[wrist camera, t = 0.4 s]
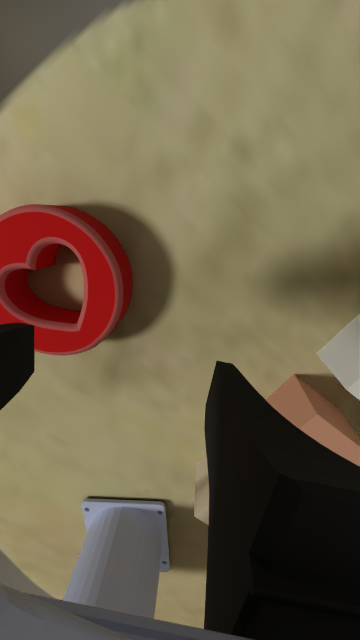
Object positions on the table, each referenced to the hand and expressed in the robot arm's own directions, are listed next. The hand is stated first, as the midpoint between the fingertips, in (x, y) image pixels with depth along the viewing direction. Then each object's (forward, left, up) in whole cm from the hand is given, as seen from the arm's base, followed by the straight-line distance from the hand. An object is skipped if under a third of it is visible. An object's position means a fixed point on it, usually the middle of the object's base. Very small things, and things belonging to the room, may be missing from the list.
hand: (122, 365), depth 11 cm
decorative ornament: (+2, +7, -10) cm, 12 cm away
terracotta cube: (-9, -10, -10) cm, 17 cm away
